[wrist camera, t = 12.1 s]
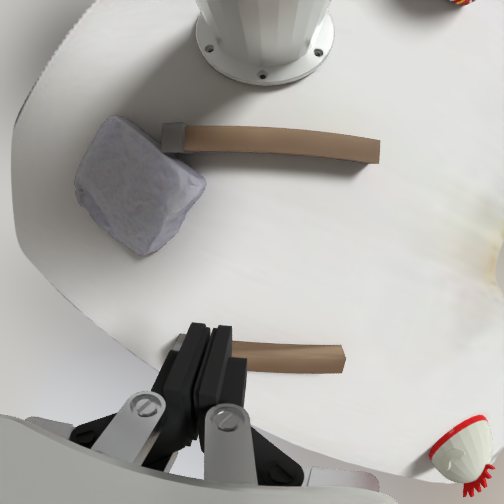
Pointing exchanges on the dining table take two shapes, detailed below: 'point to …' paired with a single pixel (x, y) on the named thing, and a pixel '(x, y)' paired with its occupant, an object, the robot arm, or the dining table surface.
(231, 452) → the robot arm
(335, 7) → the dining table surface
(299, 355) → the walnut chute
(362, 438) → the dining table surface
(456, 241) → the dining table surface
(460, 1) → the soda can
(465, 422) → the white crested dome
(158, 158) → the stone block
